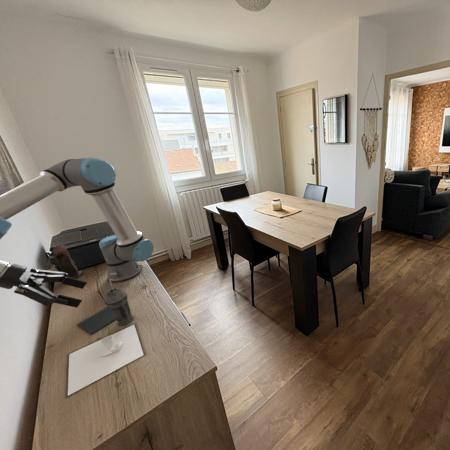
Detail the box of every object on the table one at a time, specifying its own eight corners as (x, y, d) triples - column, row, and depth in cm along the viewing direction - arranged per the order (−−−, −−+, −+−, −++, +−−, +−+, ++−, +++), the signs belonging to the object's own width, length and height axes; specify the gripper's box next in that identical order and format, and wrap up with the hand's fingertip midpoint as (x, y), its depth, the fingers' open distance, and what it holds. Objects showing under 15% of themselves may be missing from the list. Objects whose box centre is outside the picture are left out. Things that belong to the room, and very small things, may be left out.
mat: (109, 306, 109) (109, 306, 109) (124, 314, 104) (124, 313, 104) (77, 324, 99) (77, 324, 99) (91, 334, 94) (91, 333, 94)
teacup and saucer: (126, 348, 86) (122, 340, 85) (98, 362, 82) (93, 353, 80) (122, 335, 93) (119, 326, 91) (96, 347, 88) (92, 338, 86)
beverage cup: (114, 330, 95) (95, 288, 88) (115, 319, 101) (98, 279, 94) (135, 322, 99) (119, 281, 91) (136, 312, 104) (120, 273, 97)
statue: (82, 272, 139) (68, 241, 132) (79, 278, 134) (64, 246, 126) (67, 276, 136) (52, 245, 129) (63, 282, 131) (47, 250, 123)
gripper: (10, 267, 85) (81, 286, 98) (-25, 305, 66) (69, 322, 79) (23, 250, 86) (92, 271, 99) (-7, 282, 66) (84, 303, 79)
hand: (82, 294), depth 89 cm, fingers open, 13 cm apart
